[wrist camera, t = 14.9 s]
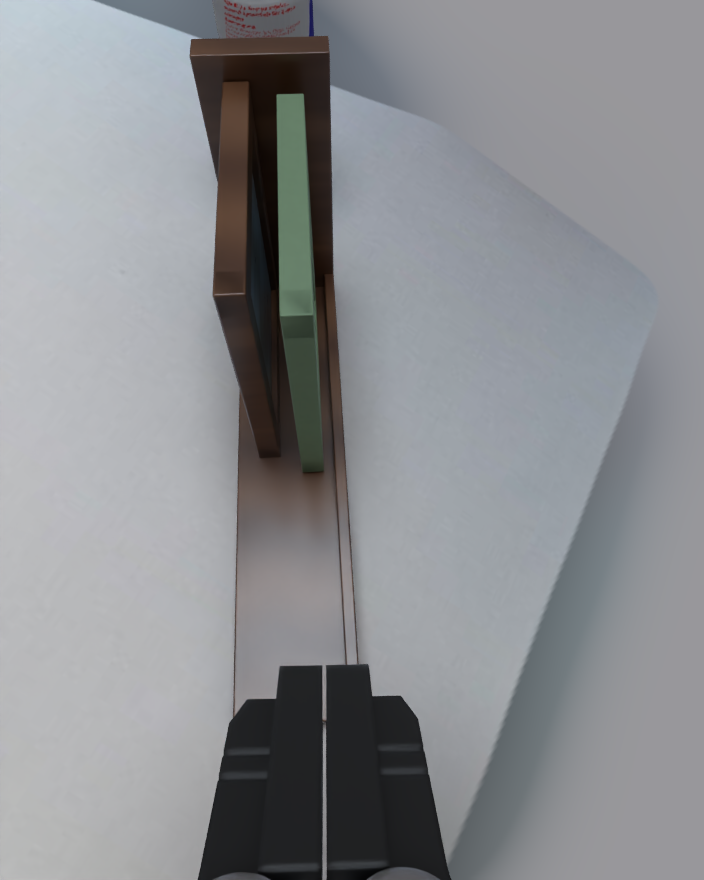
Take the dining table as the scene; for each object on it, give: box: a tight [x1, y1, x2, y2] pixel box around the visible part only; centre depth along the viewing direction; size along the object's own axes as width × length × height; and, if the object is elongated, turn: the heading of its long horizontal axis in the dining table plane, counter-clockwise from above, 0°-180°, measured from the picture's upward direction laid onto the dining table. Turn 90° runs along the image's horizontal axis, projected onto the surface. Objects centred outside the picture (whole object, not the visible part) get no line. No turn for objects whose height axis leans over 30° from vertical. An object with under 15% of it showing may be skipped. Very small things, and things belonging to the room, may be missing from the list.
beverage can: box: [212, 0, 314, 39], centre depth 40 cm, size 6×6×15 cm
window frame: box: [190, 36, 359, 722], centre depth 29 cm, size 27×6×17 cm, turn 4°
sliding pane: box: [276, 94, 324, 472], centre depth 31 cm, size 12×1×14 cm, turn 4°
